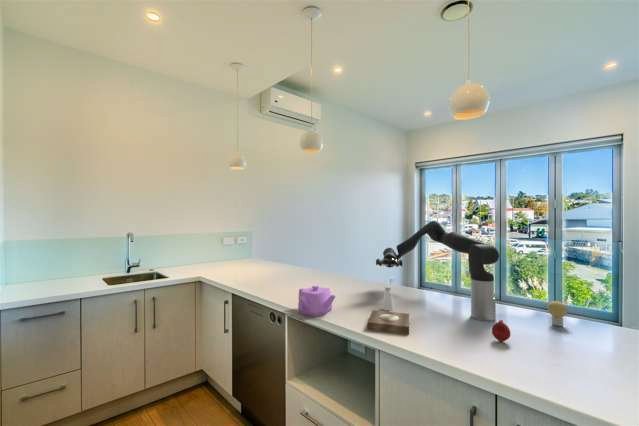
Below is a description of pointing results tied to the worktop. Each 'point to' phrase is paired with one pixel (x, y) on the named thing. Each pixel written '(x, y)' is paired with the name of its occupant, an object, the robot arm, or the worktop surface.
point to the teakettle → (315, 301)
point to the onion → (501, 331)
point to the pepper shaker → (387, 299)
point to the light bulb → (557, 312)
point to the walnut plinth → (389, 322)
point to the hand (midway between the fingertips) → (388, 264)
